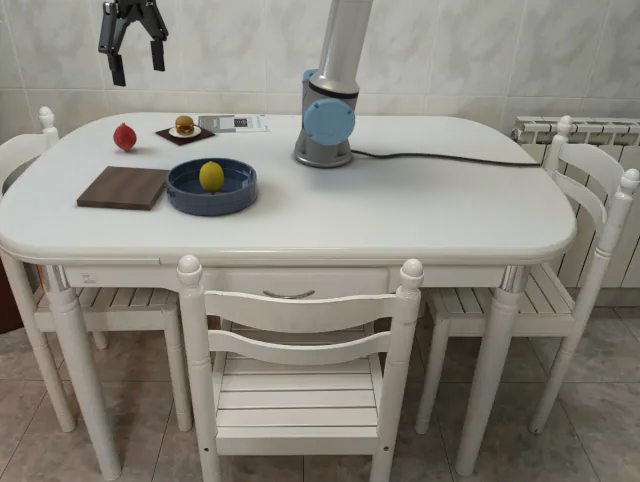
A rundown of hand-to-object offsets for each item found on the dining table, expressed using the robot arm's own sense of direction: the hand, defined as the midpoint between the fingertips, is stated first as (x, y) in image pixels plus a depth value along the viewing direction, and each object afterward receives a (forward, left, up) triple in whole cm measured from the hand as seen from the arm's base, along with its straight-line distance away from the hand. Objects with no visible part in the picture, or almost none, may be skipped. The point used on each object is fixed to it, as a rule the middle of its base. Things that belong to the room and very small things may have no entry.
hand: (140, 77), depth 124 cm
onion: (+11, -13, -24) cm, 30 cm away
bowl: (-17, +9, -24) cm, 30 cm away
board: (+3, +9, -24) cm, 26 cm away
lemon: (-17, +9, -24) cm, 30 cm away
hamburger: (-1, -27, -24) cm, 36 cm away
